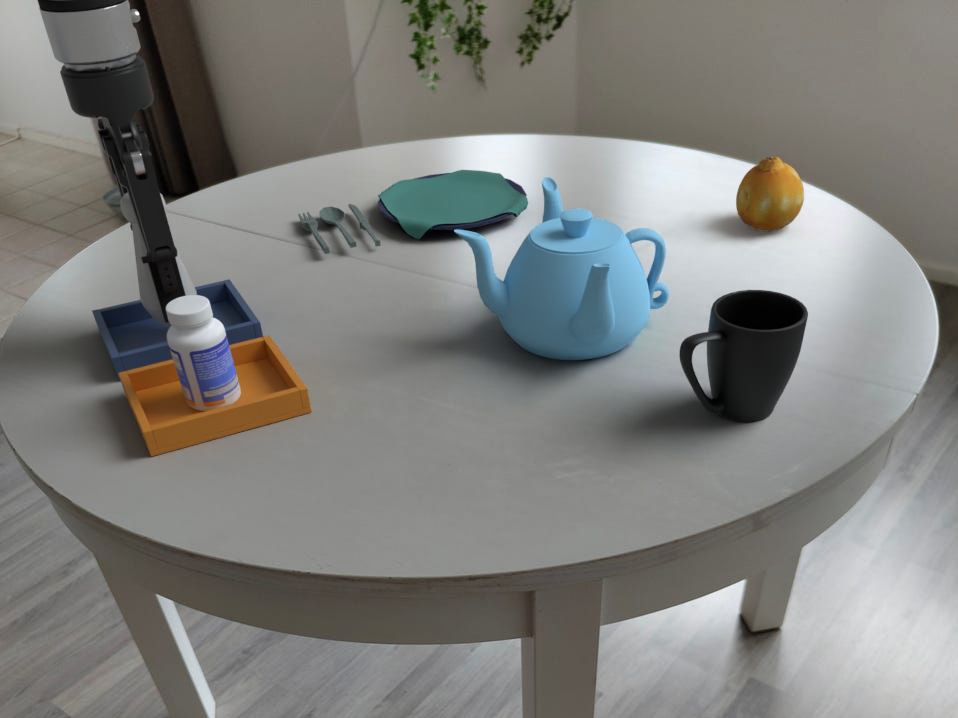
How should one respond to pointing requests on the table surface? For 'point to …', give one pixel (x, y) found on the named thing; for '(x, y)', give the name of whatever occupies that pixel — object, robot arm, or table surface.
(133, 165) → the robot arm
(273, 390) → the tray amber
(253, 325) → the tray slate
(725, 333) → the mug
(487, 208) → the cutlery set
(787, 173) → the fruit
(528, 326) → the teapot
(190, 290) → the salt shaker
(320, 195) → the table surface
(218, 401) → the pill bottle
